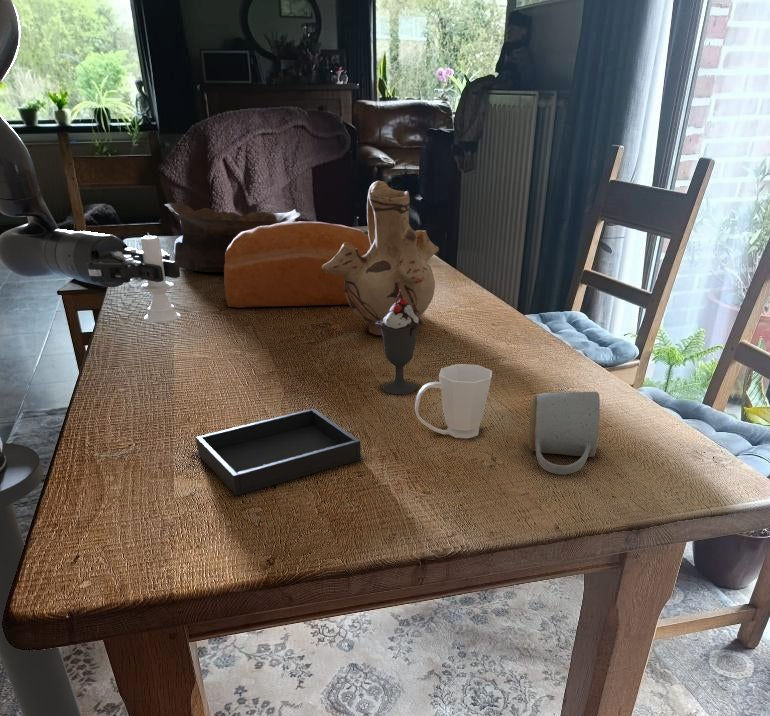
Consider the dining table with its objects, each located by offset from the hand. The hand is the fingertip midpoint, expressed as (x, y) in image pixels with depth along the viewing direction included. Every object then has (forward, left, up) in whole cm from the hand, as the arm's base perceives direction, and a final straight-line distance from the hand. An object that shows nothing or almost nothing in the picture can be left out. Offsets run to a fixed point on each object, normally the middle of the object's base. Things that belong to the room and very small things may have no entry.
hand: (169, 272), depth 101 cm
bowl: (+40, +76, -17) cm, 87 cm away
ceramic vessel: (+40, +5, -17) cm, 44 cm away
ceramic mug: (+30, -50, -17) cm, 61 cm away
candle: (-1, +3, -7) cm, 8 cm away
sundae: (+26, -20, -17) cm, 37 cm away
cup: (+23, -37, -17) cm, 47 cm away
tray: (+1, -31, -17) cm, 35 cm away
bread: (+38, +35, -17) cm, 54 cm away
